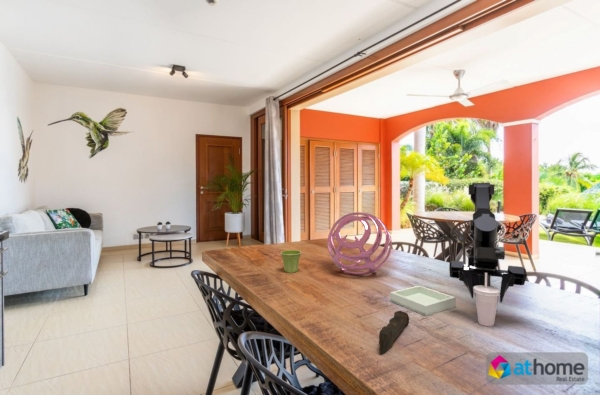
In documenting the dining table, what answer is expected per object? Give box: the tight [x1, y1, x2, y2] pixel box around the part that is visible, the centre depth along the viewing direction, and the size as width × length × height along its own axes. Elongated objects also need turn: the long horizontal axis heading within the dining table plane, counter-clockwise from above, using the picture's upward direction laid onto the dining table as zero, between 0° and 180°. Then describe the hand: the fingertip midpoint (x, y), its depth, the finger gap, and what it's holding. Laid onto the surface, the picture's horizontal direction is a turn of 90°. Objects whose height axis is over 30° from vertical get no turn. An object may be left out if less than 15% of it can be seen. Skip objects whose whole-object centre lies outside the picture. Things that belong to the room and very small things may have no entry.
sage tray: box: [389, 284, 457, 317], centre depth 102 cm, size 14×14×3 cm
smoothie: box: [473, 272, 501, 327], centre depth 87 cm, size 6×6×14 cm
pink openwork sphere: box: [327, 211, 393, 276], centre depth 140 cm, size 28×28×27 cm
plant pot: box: [280, 249, 302, 274], centre depth 143 cm, size 9×9×9 cm
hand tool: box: [378, 310, 410, 354], centre depth 80 cm, size 19×4×5 cm, turn 145°
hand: (486, 299), depth 85 cm, fingers closed on smoothie, 6 cm apart
